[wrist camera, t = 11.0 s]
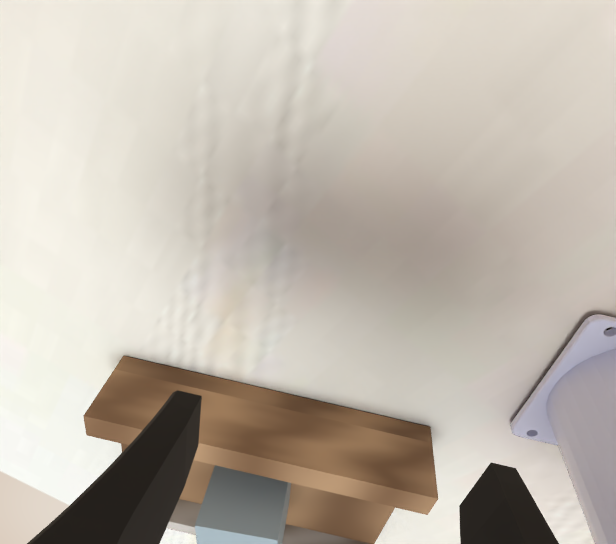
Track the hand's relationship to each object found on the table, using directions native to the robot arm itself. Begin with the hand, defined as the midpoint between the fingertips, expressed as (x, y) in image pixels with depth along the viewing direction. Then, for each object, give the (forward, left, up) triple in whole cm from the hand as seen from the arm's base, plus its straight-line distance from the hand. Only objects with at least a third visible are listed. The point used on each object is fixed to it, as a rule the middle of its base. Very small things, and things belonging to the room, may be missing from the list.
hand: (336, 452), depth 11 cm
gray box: (+2, +16, -8) cm, 18 cm away
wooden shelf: (+2, +16, -9) cm, 19 cm away
